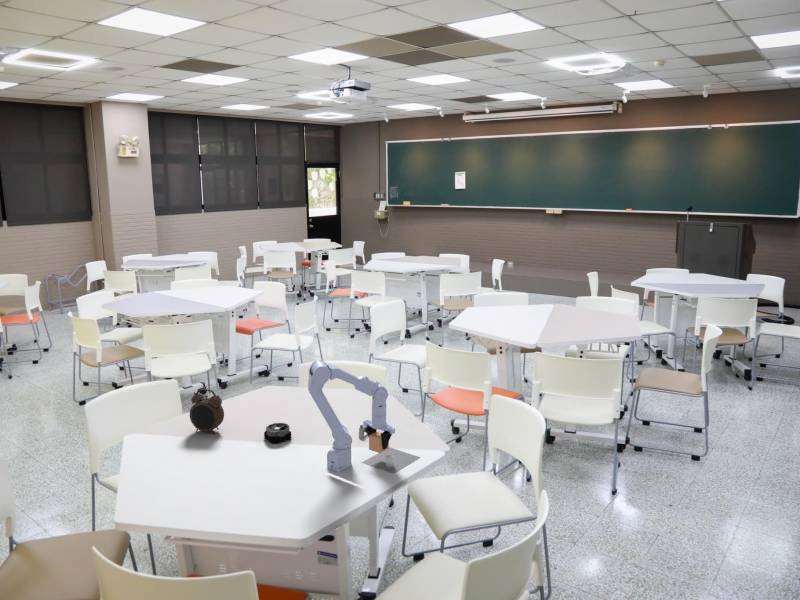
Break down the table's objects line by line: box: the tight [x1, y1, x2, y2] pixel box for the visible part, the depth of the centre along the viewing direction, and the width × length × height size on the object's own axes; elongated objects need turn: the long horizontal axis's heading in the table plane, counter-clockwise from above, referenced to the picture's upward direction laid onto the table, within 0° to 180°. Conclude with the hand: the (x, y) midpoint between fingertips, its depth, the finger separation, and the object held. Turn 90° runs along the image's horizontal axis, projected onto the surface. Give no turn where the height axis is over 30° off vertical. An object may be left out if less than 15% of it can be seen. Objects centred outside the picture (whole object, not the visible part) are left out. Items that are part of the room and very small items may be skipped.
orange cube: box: [368, 430, 390, 454], centre depth 243 cm, size 6×6×6 cm
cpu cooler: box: [263, 422, 292, 445], centre depth 267 cm, size 10×6×10 cm
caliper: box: [358, 424, 367, 439], centre depth 275 cm, size 21×1×6 cm, turn 158°
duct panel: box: [361, 446, 421, 475], centre depth 244 cm, size 18×16×5 cm
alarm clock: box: [189, 388, 225, 435], centre depth 272 cm, size 14×7×20 cm, turn 76°
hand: (378, 446), depth 244 cm, fingers closed on orange cube, 6 cm apart
